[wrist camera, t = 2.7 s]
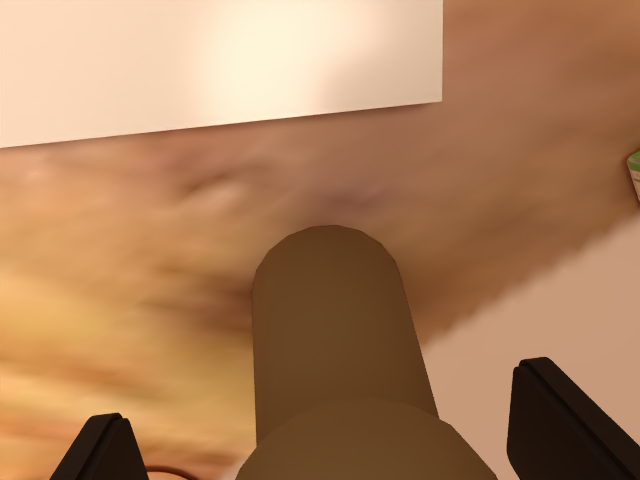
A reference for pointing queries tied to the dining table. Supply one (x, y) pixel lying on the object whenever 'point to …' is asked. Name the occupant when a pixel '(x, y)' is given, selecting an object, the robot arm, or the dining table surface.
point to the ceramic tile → (207, 62)
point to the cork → (343, 370)
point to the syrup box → (635, 170)
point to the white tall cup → (164, 476)
